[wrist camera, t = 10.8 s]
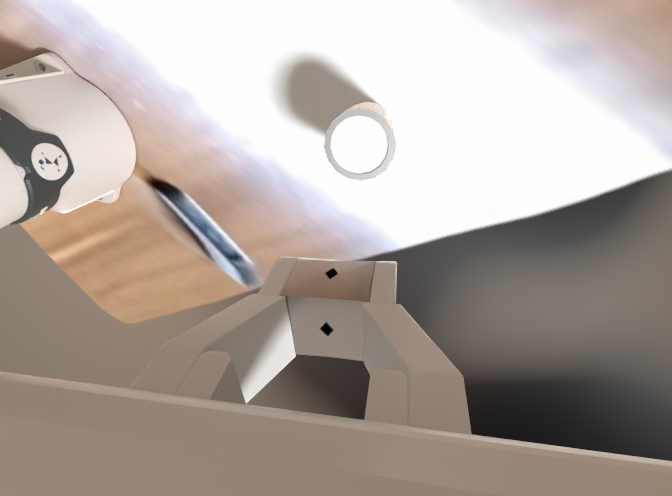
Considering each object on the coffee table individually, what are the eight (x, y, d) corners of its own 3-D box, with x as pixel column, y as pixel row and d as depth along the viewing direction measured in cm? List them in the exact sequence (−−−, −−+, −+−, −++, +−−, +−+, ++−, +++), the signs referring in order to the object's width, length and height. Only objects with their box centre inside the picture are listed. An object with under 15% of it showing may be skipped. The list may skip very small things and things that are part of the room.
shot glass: (384, 167, 41) (379, 190, 36) (329, 146, 41) (315, 166, 35) (408, 108, 38) (407, 124, 32) (348, 85, 37) (336, 96, 32)
